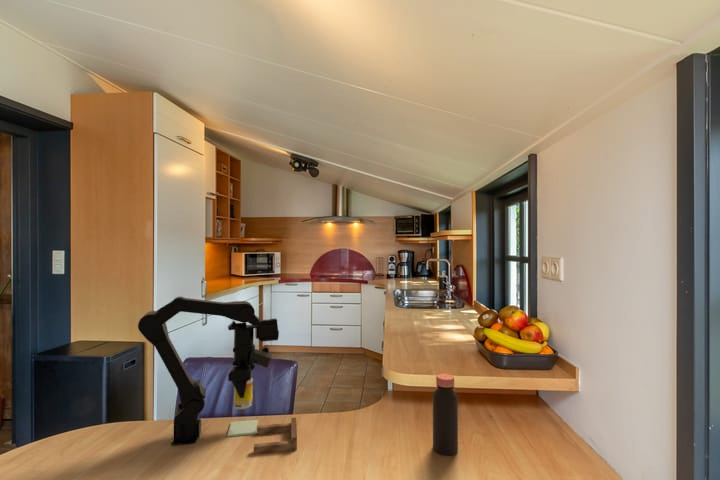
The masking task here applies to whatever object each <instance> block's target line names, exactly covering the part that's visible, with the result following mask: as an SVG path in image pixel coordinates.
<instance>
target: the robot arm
mask: <svg viewBox="0 0 720 480" xmlns="http://www.w3.org/2000/svg"><path fill="white" fill-rule="evenodd" d="M181 312H183V313H192V314H200V315H211V316H218V317H219V316H220V317H223V318H226V319H229V320H232V321H231V323H230V324H229V325H228V326H227V329H228V331H234V332H233V336H234V338H233V348H232V352H233V360H232V366H233V367H232V368H231V369H230V370H229V372H228V376H227V377H228V380H227V381H229V382H231V383H232V384H233V387H234V386H235V388H236V391H237V393H238V395H239V397H240V398H244V394H245V389H246V384H247V381H248V380H250V379H251V378H253V377H252V376H253V370H254V369H255V366H256V365H259V366H262V367H263V368H268V367H269V365H270V363H271V360H272V358H273V354H272V352H270V348H269V347H267V346H263V348H261V349H258V348H257V349H256V345H255V343H254V336H255V340H256V339H257V340H258V342H260V343H261V342H262V343H263V342H271V341H273V342H274V341H278V340H279V335H280V332H279V327H278V326H279V325H278V320H277V318H276V317H275V318H270V319H260V318H259V317H258V316H257V315H256V314H255V312H256V311H255V309H254V306H253V305H252V304H251V303H250V302H249V301H247V300H246V301H245V300H240V301H239V300H235V301H227V302H222V301H213V300H207V299H206V300H204V299H199V298H197V299H196V298H189V297H183V296H177V297H174V298H173V300H171V301H170V302H169V303H166V304H165V305H163V306H162V307H159V309H157V310H151V311H148V312H146V313H145V314H144V315H143V316H142V317H141V318H140V319H139V321H138V324H137V328H138V331H139V332H140V333H141V335H142V336H143V337H144V339H146V340H147V342H149V343H150V344H151V345H152V346H154V348H155V350H156V351H157V353H158V355H159V357H160V358H161V360H162V362H163V363H164V366H165V367H166V369H167V371H168V373H169V375H170V376H171V378H172V381H173V382H174V384H175V386H176V388H177V392H178V396H179V401H180V402H179V404H177V405H176V410H175V413H174V418H173V419H174V420H173V439H172V441H171V446H177V445H187V444H195V443H196V442H197V441H198V439H199V438H200V436H201V434H202V419H201V418H200V413H201V412H202V411H203V410H204V409H205V407H206V406H205V403H206V397H207V395H206V394H207V393H206V391H207V390H206V388H205V387H204V386H203V385H202V381H201V379H200V378H199V379H197V381H195V380H194V379H193V378H192V377H191V375H190V373H189V371H188V370H187V368H186V366H185V364H184V362H183V361H182V359H181V357H180V355H179V353H178V351H177V350H176V348H175V346H174V344H173V343H172V340H171V338H170V335H169V332H168V327H167V323H166V322H168V321H169V320H171V319H172V318H173V317H175V316H176V315H177V314H179V313H181ZM247 323H248V324H247ZM254 329H255V330H254ZM254 334H255V335H254Z"/></svg>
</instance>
